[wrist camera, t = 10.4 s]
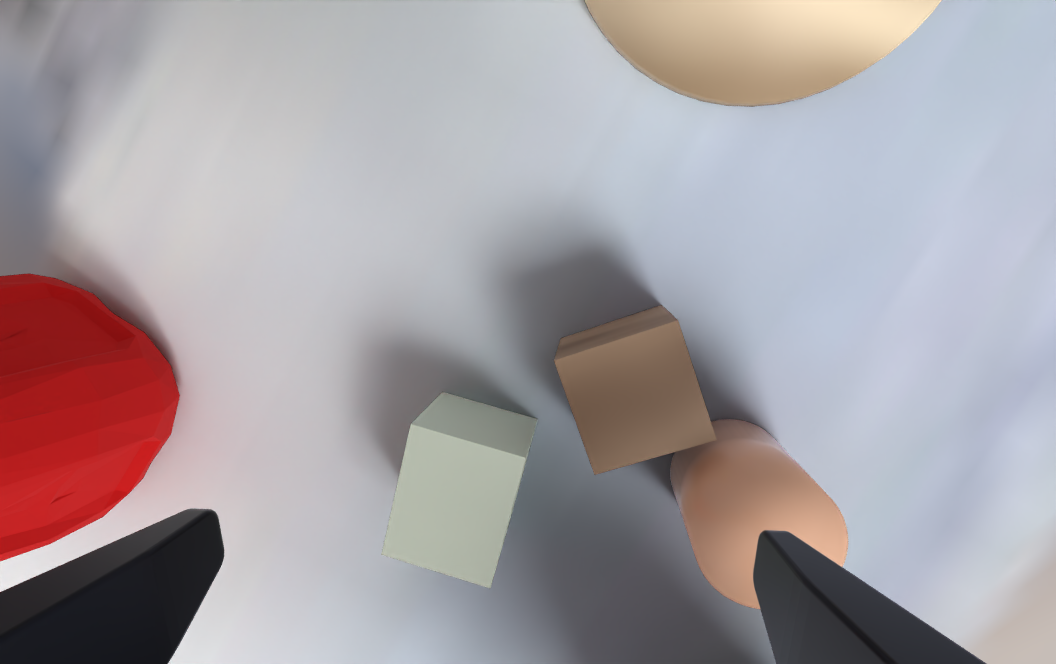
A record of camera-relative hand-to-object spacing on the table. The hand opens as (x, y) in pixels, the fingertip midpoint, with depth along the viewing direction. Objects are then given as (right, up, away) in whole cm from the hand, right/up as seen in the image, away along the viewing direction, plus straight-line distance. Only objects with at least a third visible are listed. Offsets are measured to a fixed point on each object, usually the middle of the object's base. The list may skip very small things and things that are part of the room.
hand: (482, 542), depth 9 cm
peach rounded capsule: (+8, -2, +12) cm, 15 cm away
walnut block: (+4, +2, +12) cm, 13 cm away
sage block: (-1, -2, +13) cm, 14 cm away
